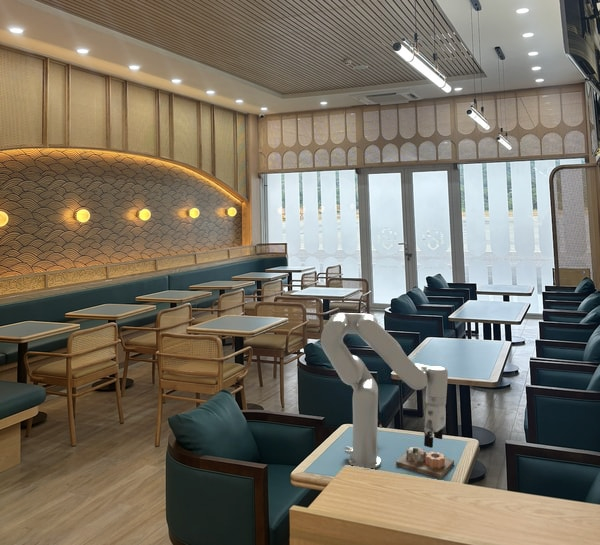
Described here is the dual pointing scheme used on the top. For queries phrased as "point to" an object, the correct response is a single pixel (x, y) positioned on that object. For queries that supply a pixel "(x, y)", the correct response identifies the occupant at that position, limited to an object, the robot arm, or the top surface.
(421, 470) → the gear board
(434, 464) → the terracotta gear
